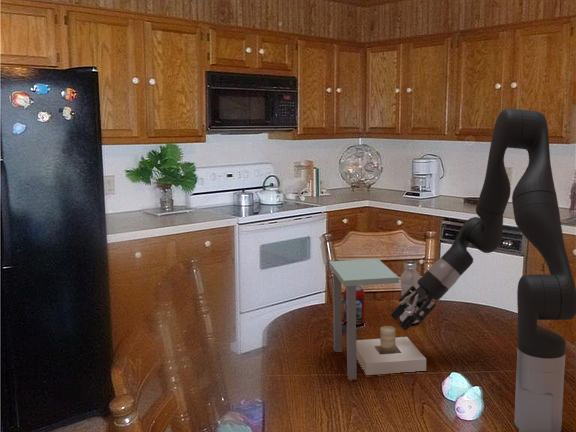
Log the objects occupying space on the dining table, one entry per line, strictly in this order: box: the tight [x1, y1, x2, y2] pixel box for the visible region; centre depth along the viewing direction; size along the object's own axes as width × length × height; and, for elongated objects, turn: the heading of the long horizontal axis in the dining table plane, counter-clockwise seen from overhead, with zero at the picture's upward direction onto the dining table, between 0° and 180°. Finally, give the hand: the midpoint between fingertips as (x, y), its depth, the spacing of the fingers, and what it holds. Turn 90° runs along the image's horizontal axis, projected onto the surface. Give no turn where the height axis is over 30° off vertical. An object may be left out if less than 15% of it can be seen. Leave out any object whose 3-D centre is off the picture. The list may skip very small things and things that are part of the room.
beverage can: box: [343, 285, 366, 324], centre depth 189 cm, size 7×7×12 cm
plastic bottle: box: [399, 260, 421, 325], centre depth 187 cm, size 6×7×20 cm
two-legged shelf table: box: [328, 258, 400, 380], centre depth 156 cm, size 14×20×26 cm
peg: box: [379, 325, 396, 355], centre depth 159 cm, size 4×4×10 cm
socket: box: [356, 336, 427, 376], centre depth 159 cm, size 16×16×4 cm
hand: (397, 322), depth 158 cm, fingers open, 8 cm apart
